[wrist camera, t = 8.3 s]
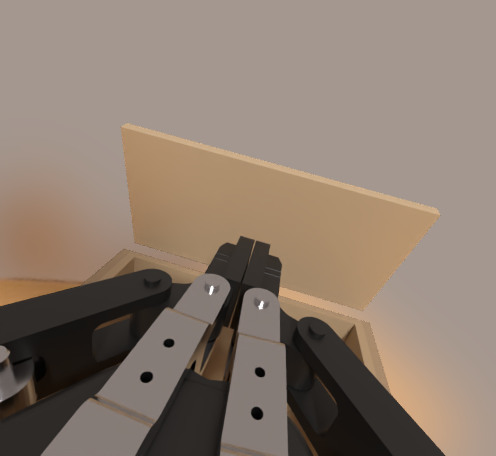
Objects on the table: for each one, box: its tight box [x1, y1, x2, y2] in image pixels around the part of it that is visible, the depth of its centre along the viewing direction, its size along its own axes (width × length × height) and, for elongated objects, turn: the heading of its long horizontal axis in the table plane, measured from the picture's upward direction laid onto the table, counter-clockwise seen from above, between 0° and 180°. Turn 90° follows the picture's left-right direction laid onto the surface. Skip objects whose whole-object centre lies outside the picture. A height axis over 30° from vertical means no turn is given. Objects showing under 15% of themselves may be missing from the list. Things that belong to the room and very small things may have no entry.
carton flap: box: [121, 123, 440, 311], centre depth 18 cm, size 17×9×1 cm
